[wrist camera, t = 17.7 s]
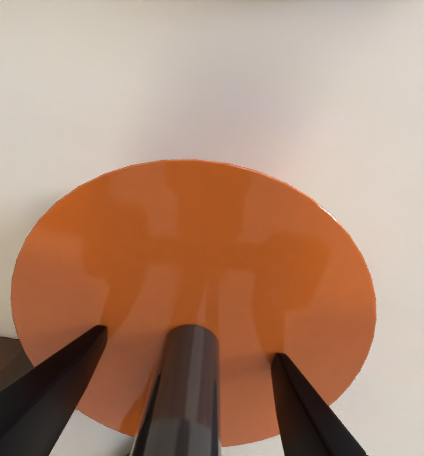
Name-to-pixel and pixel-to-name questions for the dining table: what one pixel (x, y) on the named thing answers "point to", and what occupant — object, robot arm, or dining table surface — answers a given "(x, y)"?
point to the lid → (194, 299)
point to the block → (12, 361)
